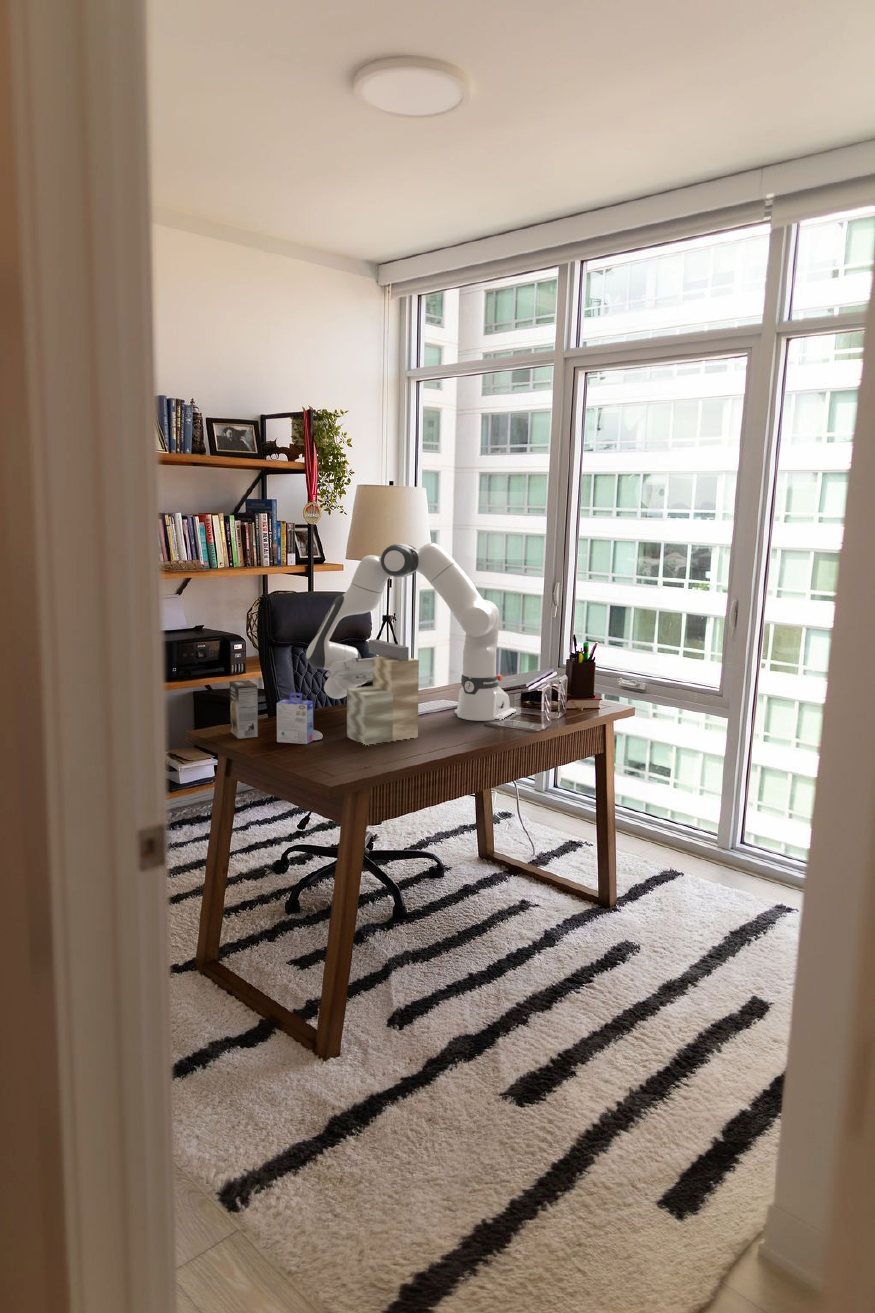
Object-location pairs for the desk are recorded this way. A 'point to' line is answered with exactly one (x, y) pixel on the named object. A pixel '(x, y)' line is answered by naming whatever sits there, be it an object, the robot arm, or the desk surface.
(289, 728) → the ink cartridge box
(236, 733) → the coffee box
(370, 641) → the bar
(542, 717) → the desk surface
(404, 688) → the stepped stand
